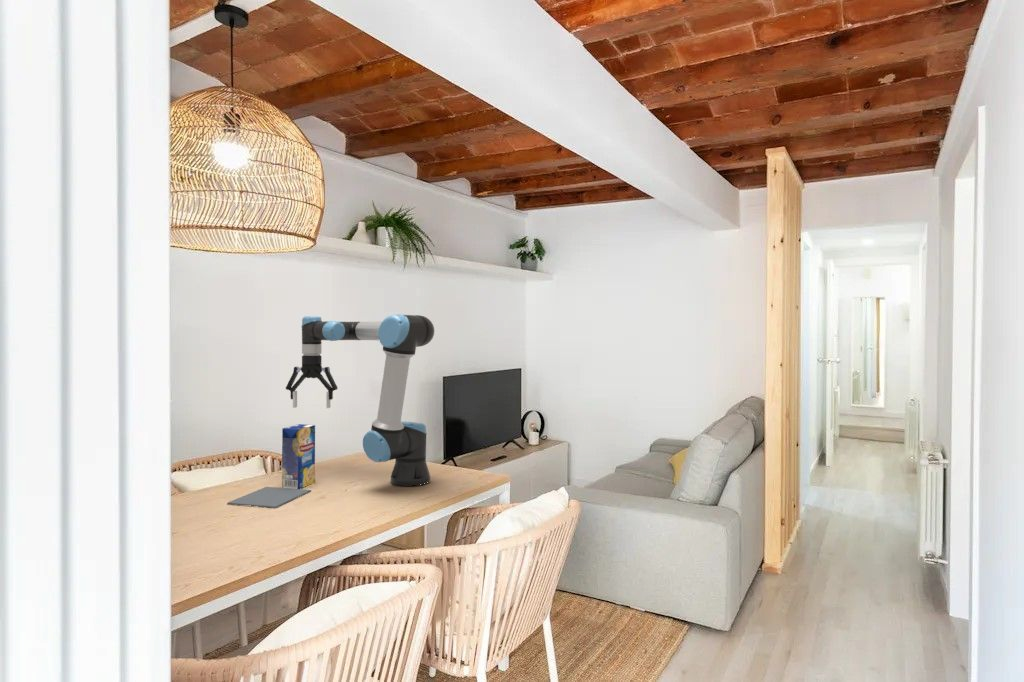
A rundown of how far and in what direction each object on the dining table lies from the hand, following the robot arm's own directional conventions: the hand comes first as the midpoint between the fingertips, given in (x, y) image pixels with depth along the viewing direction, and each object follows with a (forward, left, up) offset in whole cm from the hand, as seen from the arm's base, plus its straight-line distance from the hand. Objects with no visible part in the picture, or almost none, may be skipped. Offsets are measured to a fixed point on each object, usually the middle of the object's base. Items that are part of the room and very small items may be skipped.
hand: (311, 407), depth 258 cm
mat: (-5, +36, -27) cm, 45 cm away
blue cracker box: (-5, +18, -27) cm, 33 cm away
